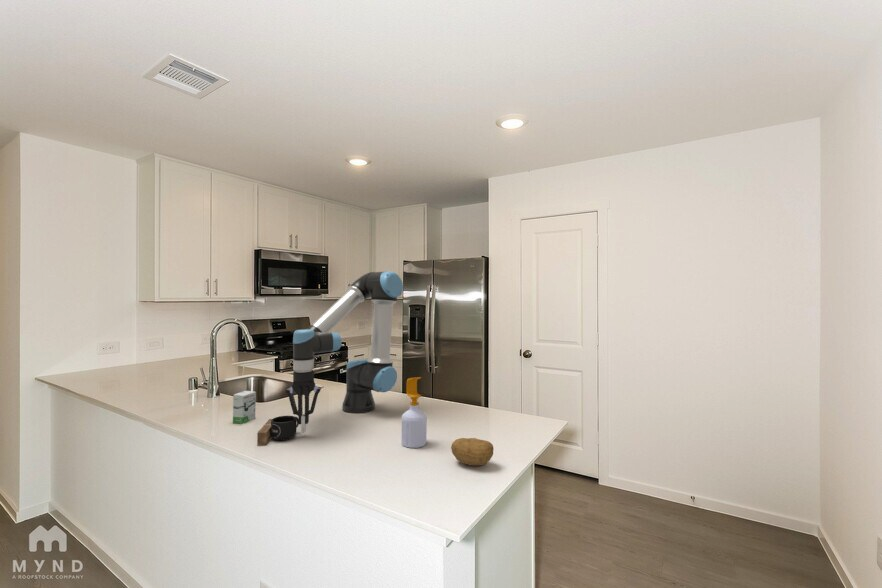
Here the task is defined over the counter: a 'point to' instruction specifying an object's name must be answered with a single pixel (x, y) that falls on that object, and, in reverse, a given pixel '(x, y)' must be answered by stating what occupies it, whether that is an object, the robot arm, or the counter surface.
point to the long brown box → (264, 434)
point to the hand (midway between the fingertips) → (303, 432)
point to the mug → (284, 427)
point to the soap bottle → (413, 419)
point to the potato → (472, 451)
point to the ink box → (244, 406)
